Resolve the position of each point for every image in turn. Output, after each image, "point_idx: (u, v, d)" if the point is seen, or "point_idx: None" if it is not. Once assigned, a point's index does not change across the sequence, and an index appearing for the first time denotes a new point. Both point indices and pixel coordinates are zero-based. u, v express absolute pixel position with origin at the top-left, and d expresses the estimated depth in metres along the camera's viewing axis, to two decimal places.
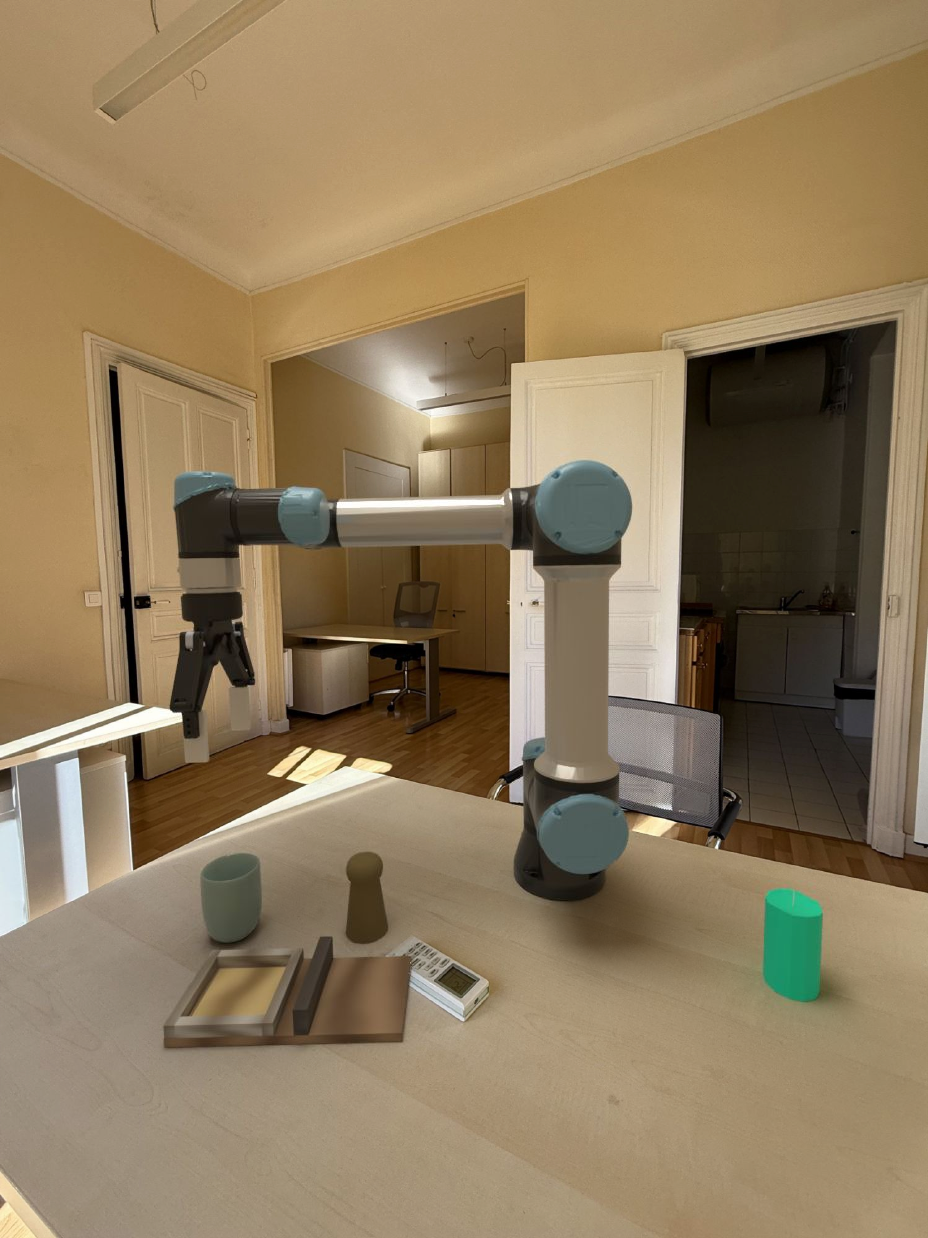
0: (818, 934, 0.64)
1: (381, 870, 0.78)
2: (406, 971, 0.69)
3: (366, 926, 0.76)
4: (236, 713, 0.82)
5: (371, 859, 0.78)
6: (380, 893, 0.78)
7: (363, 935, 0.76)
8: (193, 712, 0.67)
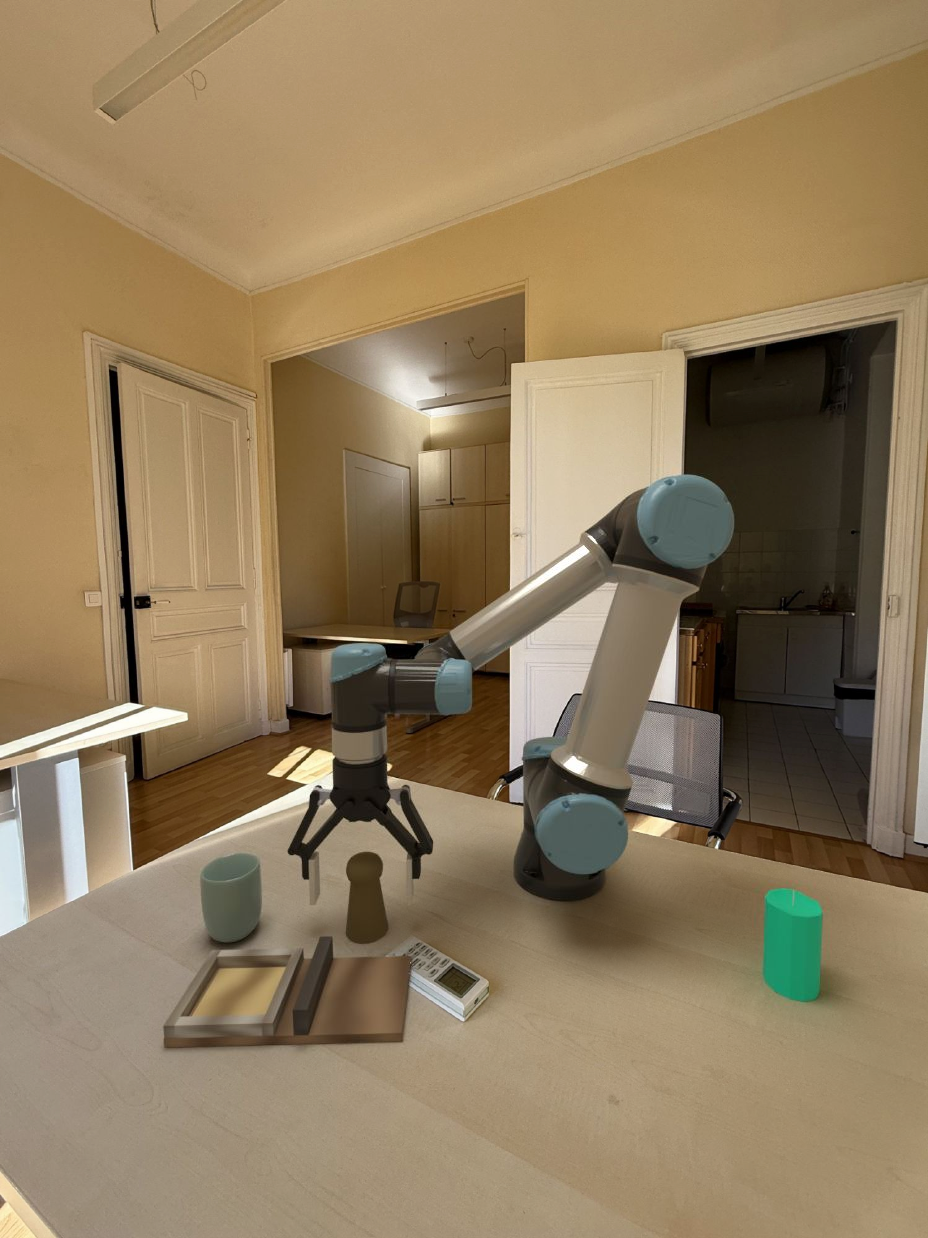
0: (818, 934, 0.64)
1: (381, 870, 0.78)
2: (406, 971, 0.69)
3: (366, 926, 0.76)
4: None
5: (371, 859, 0.78)
6: (380, 893, 0.78)
7: (363, 935, 0.76)
8: None
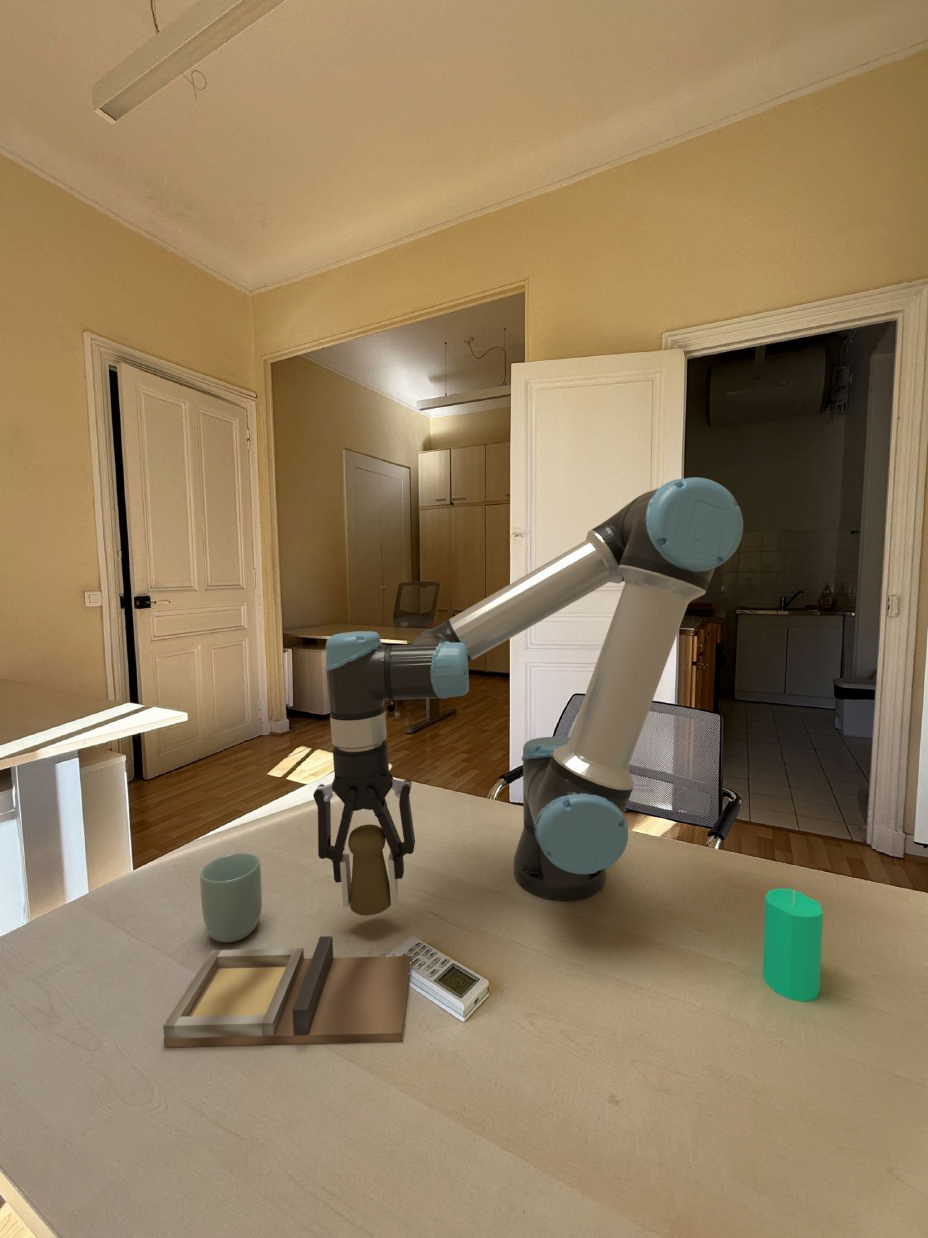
0: (818, 934, 0.64)
1: (383, 842, 0.77)
2: (406, 971, 0.69)
3: (370, 898, 0.76)
4: None
5: (373, 831, 0.77)
6: (383, 865, 0.78)
7: (367, 907, 0.76)
8: None
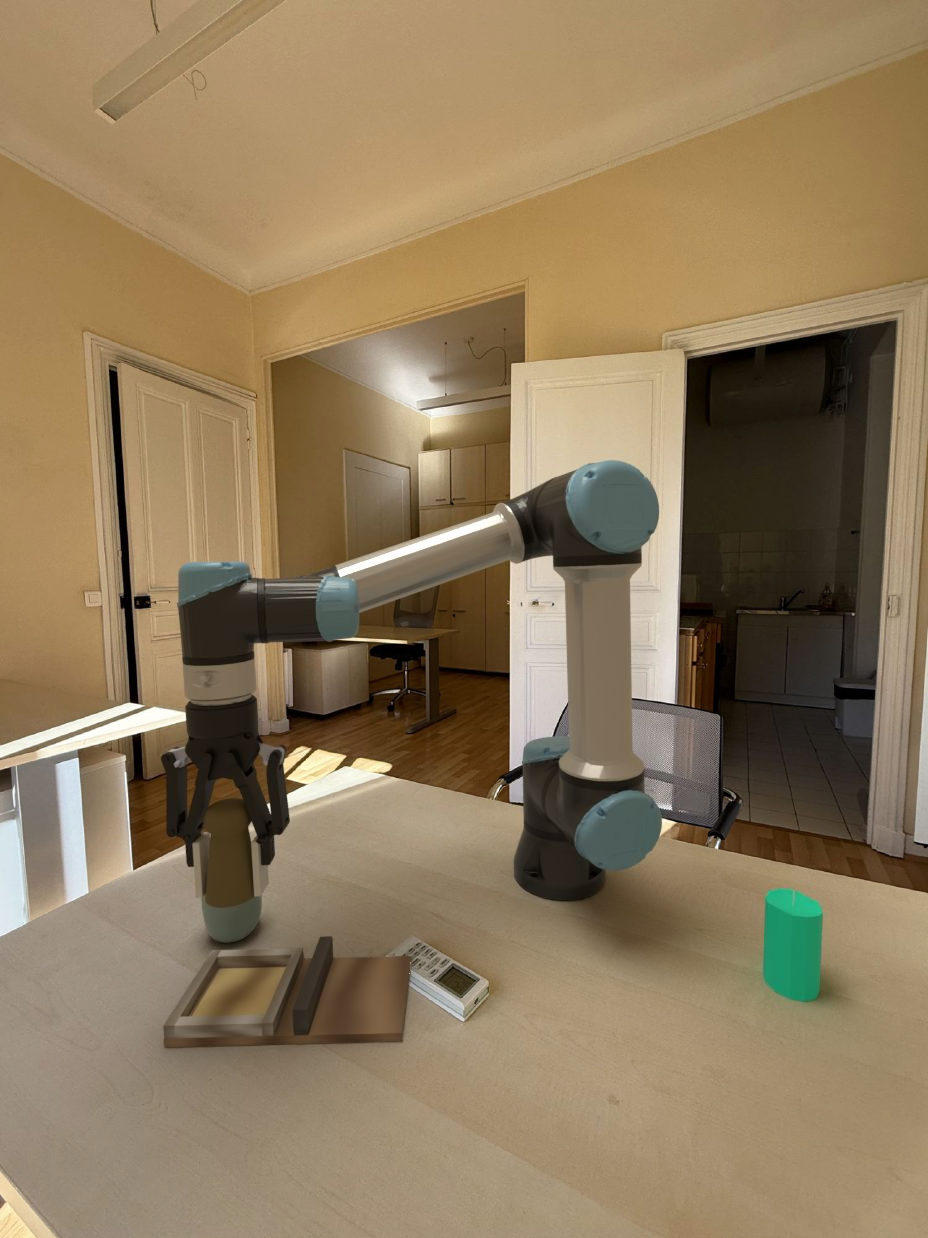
0: (818, 934, 0.64)
1: None
2: (406, 971, 0.69)
3: None
4: (204, 870, 0.64)
5: (220, 801, 0.64)
6: None
7: None
8: None
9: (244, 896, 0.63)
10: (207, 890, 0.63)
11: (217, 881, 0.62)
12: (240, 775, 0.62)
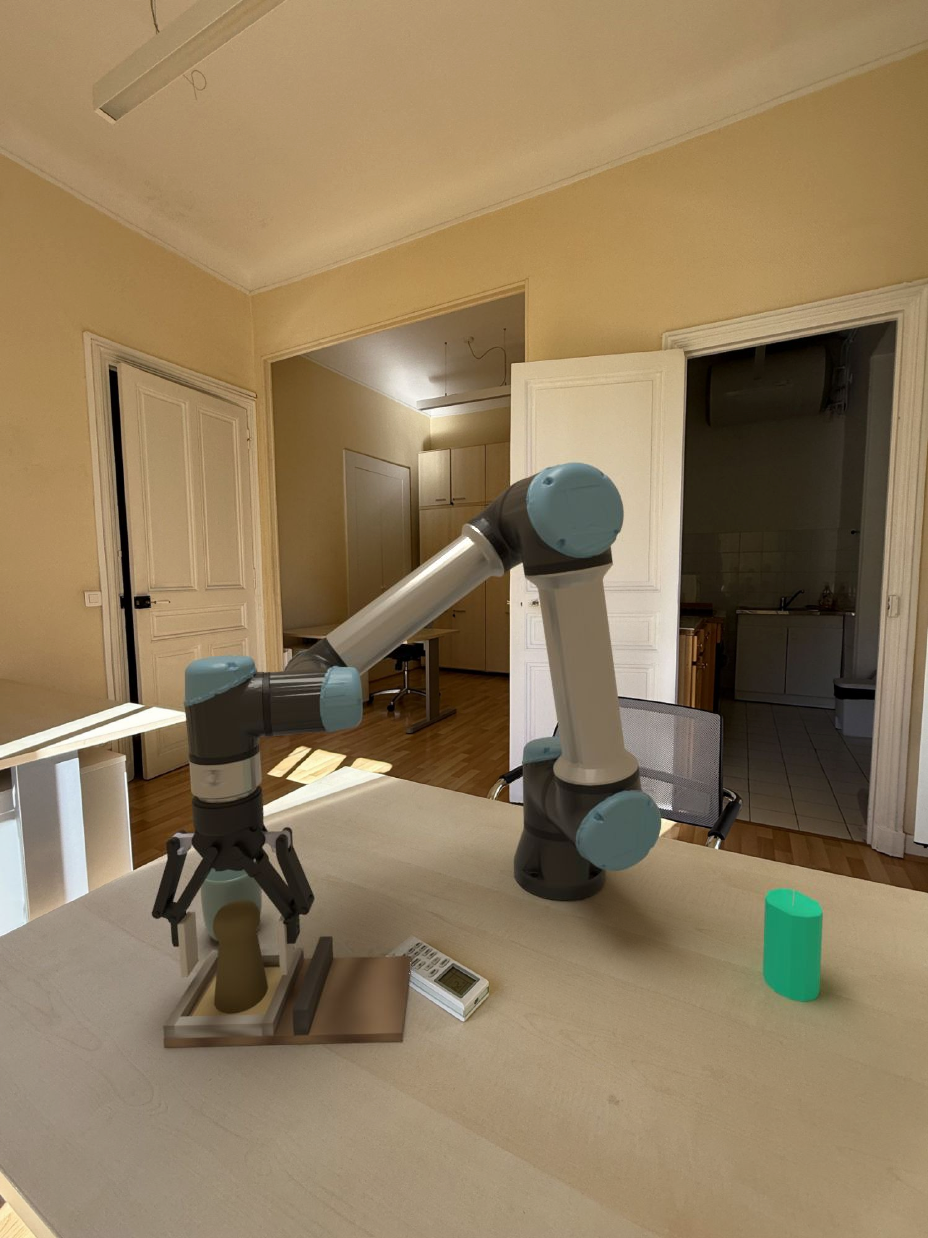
0: (818, 934, 0.64)
1: None
2: (406, 971, 0.69)
3: None
4: (190, 950, 0.65)
5: (228, 905, 0.66)
6: None
7: None
8: None
9: (252, 1000, 0.64)
10: (216, 995, 0.64)
11: (226, 988, 0.63)
12: (250, 865, 0.63)
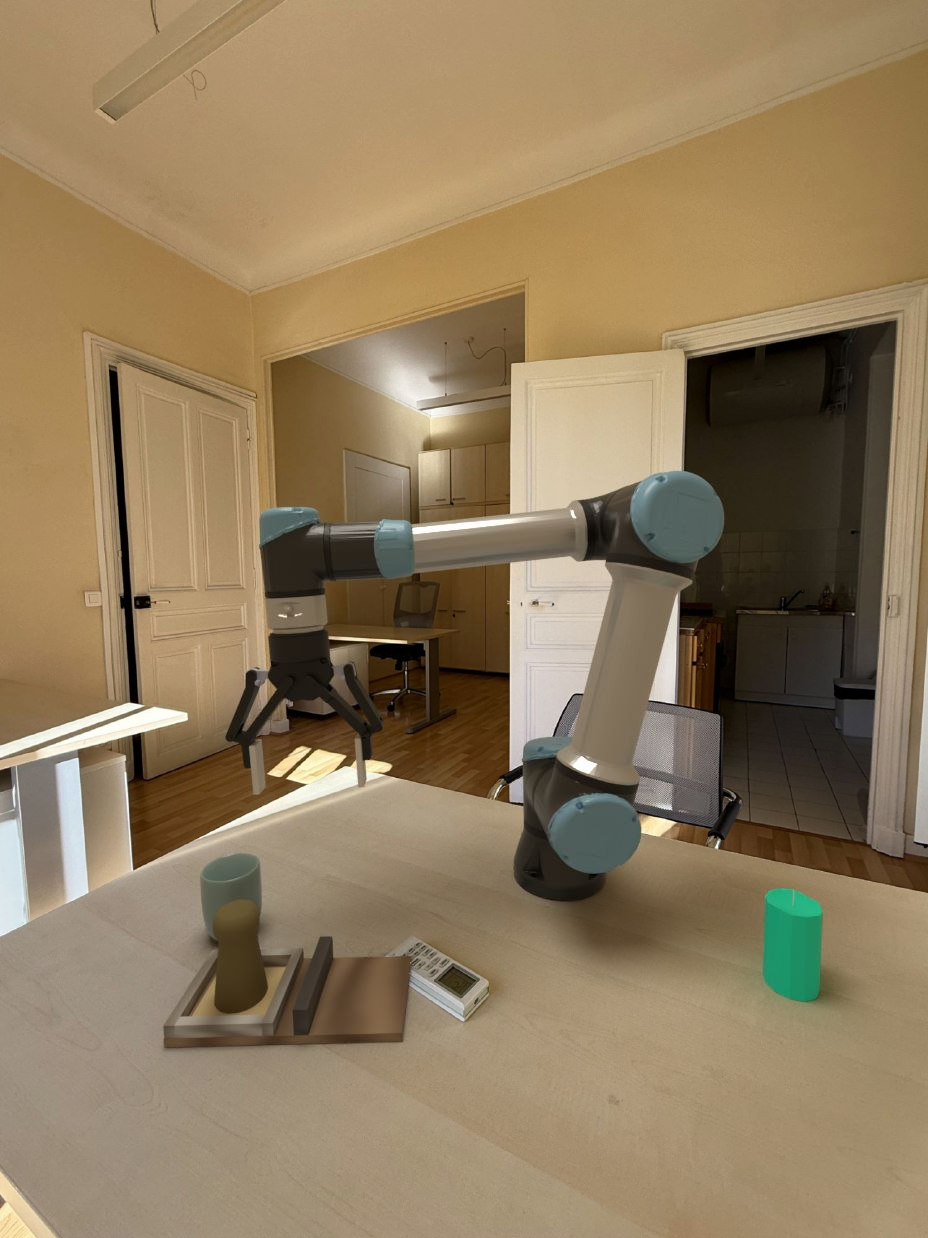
0: (818, 934, 0.64)
1: None
2: (406, 971, 0.69)
3: None
4: (259, 772, 0.73)
5: (228, 904, 0.66)
6: None
7: None
8: None
9: (252, 1000, 0.64)
10: (216, 995, 0.64)
11: (226, 987, 0.63)
12: (324, 691, 0.71)
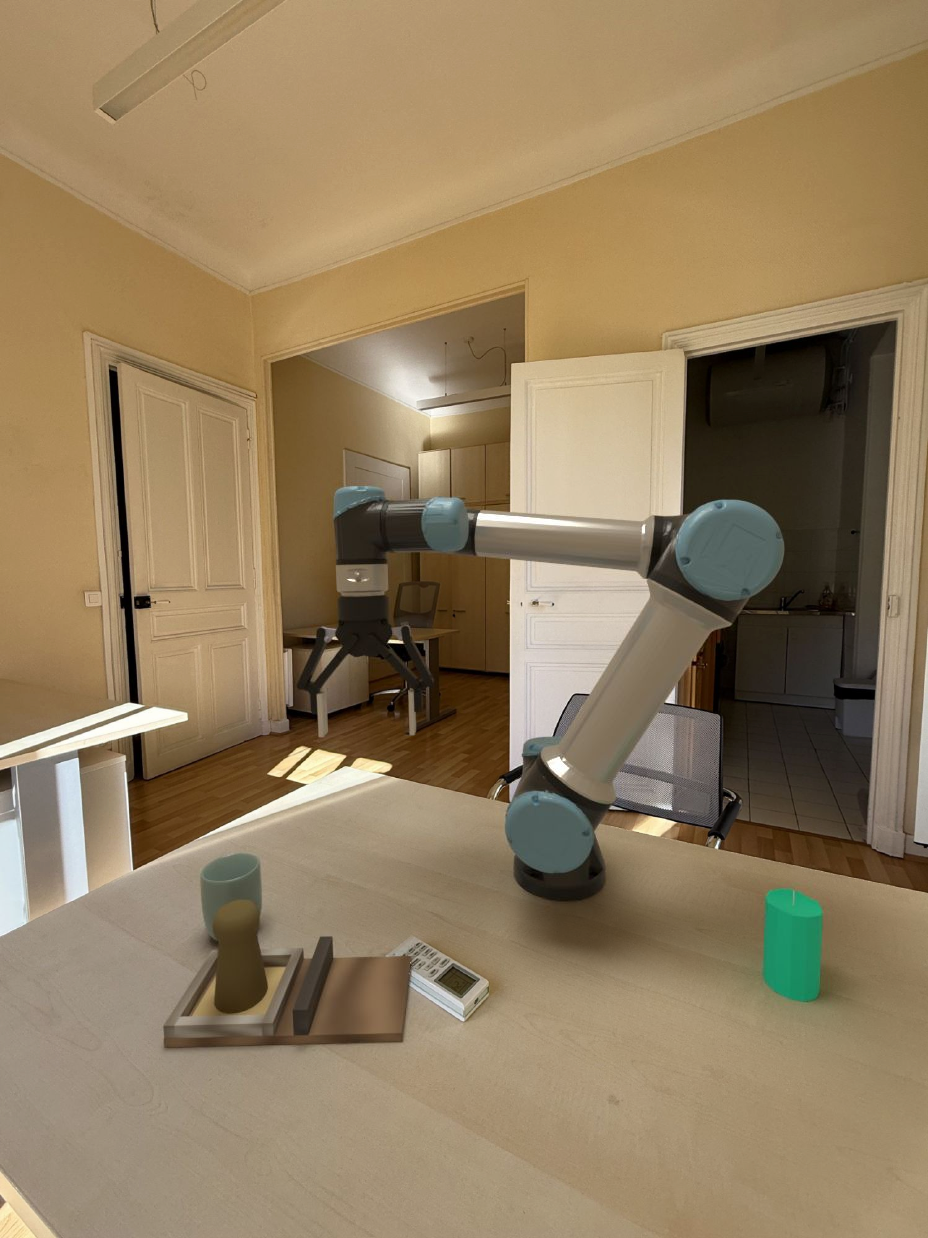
0: (818, 934, 0.64)
1: None
2: (406, 971, 0.69)
3: None
4: (324, 717, 0.83)
5: (228, 905, 0.66)
6: None
7: None
8: None
9: (252, 1000, 0.64)
10: (216, 995, 0.64)
11: (226, 988, 0.63)
12: (384, 648, 0.81)
